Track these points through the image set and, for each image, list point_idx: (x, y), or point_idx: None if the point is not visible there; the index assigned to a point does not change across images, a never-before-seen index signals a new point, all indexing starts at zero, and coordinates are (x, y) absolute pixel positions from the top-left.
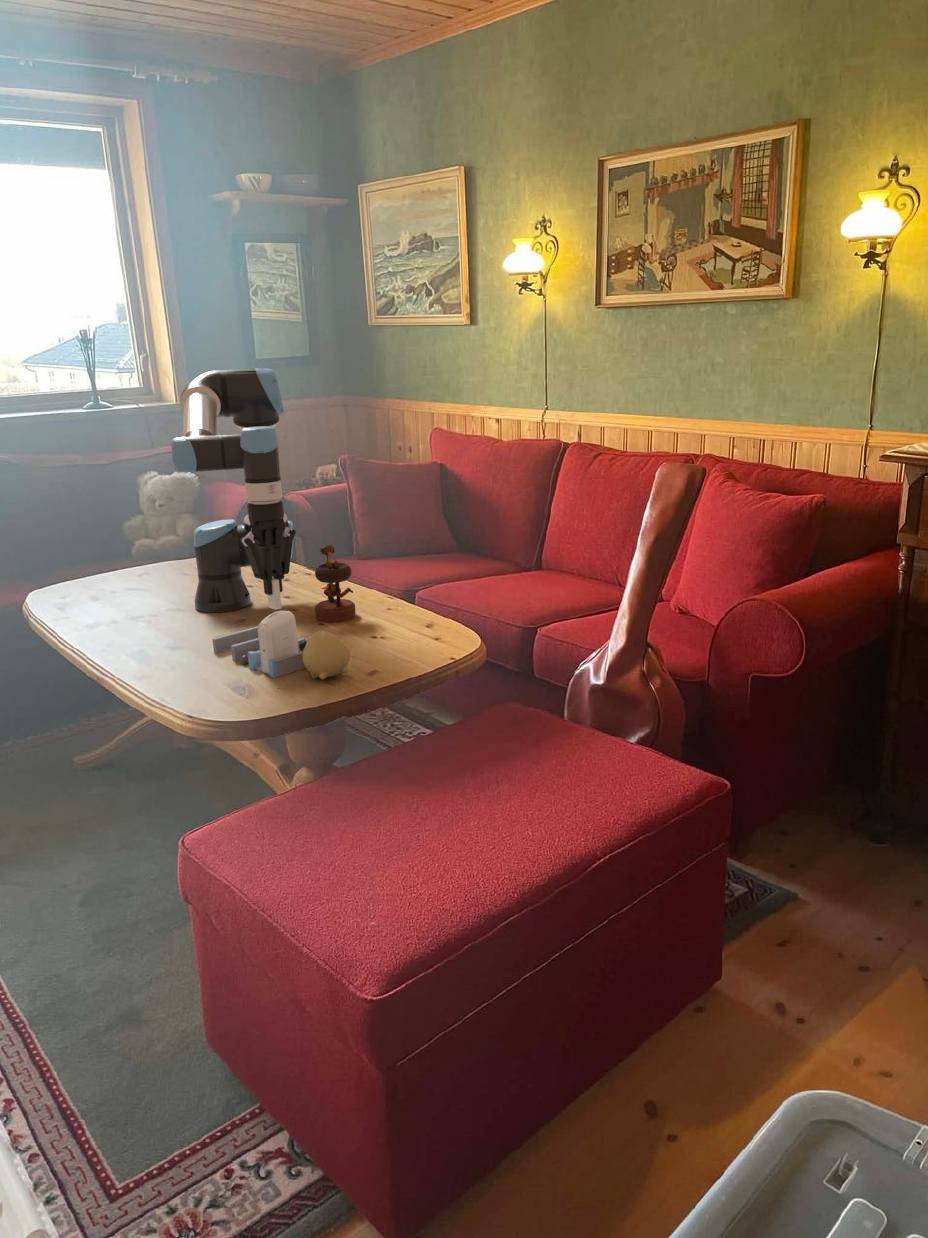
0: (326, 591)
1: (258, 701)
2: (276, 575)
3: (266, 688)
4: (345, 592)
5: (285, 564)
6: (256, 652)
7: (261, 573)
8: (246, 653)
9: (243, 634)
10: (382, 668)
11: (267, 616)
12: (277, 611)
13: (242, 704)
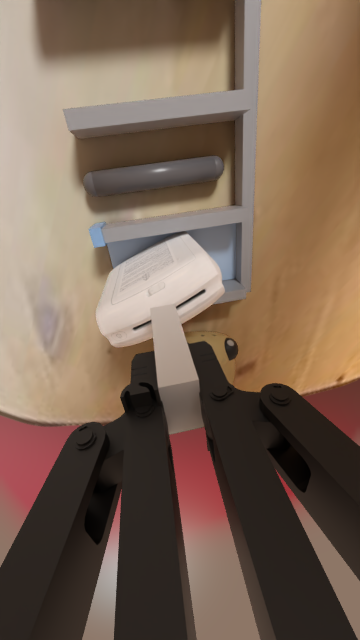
0: None
1: (64, 378)
2: (207, 432)
3: (91, 342)
4: None
5: (292, 490)
6: (111, 236)
7: (97, 507)
8: (113, 131)
9: None
10: (264, 362)
11: (131, 322)
12: (177, 302)
13: (38, 377)
